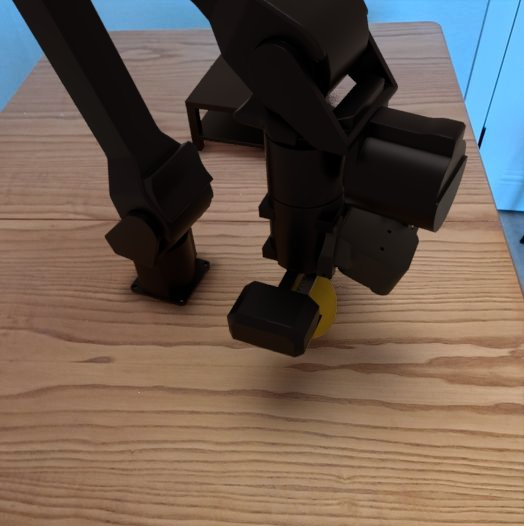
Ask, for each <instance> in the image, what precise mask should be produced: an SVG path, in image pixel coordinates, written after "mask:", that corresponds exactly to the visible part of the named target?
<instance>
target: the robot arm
mask: <svg viewBox="0 0 524 526" xmlns="http://www.w3.org/2000/svg"><path fill="white" fill-rule="evenodd" d="M11 1H12V3H13V5H14V6H15V7H16V9H17V11H18V13H19V15H20V17H22V20H24V23H25V24H26V26H27V28H28V29H29V31H30V32H31V35H32V36H33V37H34V39H35V41H36V43H37V44H38V46H39V48H40V50H41V51H42V53H43V54H44V55H45V58H46V59H47V61H48V62H49V64H50V66H51V67H52V69H53V71H54V72H55V74H56V76H57V77H58V79H59V80H60V82H61V84H62V86H63V87H64V89H65V91H66V92H67V94H68V95H69V97H70V98H71V100H72V102H73V103H74V105H75V107H76V108H77V110H78V112H79V113H80V115H81V117H82V118H83V120H84V122H85V124H86V126H87V127H88V128H89V130H90V132H91V134H92V135H93V137H94V138H95V140H96V142H97V143H98V145H99V147H100V148H101V150H102V152H103V153H104V155H105V158H106V161H107V178H108V179H107V180H108V181H107V182H108V195H109V198H110V201H111V202H112V204H113V207H114V209H115V210H116V212H117V214H118V216H119V219H120V220H119V221H118V222H117V223H116V224H114V226H113V227H112V228H111V229H110V230H108V231H107V233H105V235H104V239H105V240H106V242H107V243H108V245H109V247H110V248H111V250H112V251H113V253H114V254H115V255H118V256H120V257H122V258H124V259H127V260H129V261H132V262H133V266H134V268H135V271H136V275H137V277H136V278H135V279H134V281H133V282H132V283H131V284H130V286H129V287H130V291H131V292H132V293H134V294H138V295H141V296H144V297H148V298H151V299H154V300H158V301H160V302H163V303H164V302H165V303H168V304H171V305H175V306H178V307H184V306H186V305H187V304H188V302H189V300H190V299H191V297H192V296H193V295H194V293H195V291H196V290H197V289H198V287H199V285H200V284H201V282H202V281H203V279H204V278H205V276H206V275H207V273H208V271H209V270H210V268H211V262H210V261H209V260H207V259H203V258H199V257H197V256H198V252H197V246H196V242H195V238H194V232H193V229H192V226H193V225H194V224H195V223H196V222H197V221H198V220H199V219H200V218H202V216H203V215H204V213H206V212H207V210H208V209H209V208H210V207H211V205H212V202H213V200H212V199H213V198H214V190H213V188H212V184H211V183H212V182H213V181H214V177H213V176H212V174H210V172H209V171H208V170H207V168H206V166H205V165H204V163H203V161H202V159H201V156H200V153H199V151H198V150H197V147H196V146H195V145H194V144H193V143H192V141H191V140H188V141H184V142H183V143H180V142H179V141H178V140H176V139H175V138H173V137H171V136H170V135H168V134H166V133H165V132H164V131H162V130H161V129H160V128H159V126H158V125H157V123H156V121H155V119H154V118H153V115H152V113H151V111H150V109H149V108H148V106H147V104H146V102H145V100H144V98H143V96H142V94H141V92H140V90H139V89H138V87H137V85H136V82H135V81H134V79H133V77H132V75H131V73H130V71H129V69H128V68H127V66H126V63H125V62H124V60H123V58H122V57H121V56H122V55H120V52H119V51H118V49H117V47H116V45H115V43H114V41H113V39H112V37H111V36H110V33H109V32H108V30H107V28H106V26H105V23H104V22H103V20H102V18H101V17H100V15H99V12H98V11H97V9H96V7H95V5H94V3H93V1H92V0H11ZM189 1H190V2H191V3H192V4H193V5H194V6H195V7H196V8H197V9H198V11H200V13H201V14H202V15H203V16H204V18H205V19H206V20H207V21H208V22H209V23H208V24H209V26H210V28H211V30H212V33H213V36H214V39H215V41H216V45H217V47H218V50H219V52H220V54H221V55H222V57H223V59H224V60H225V62H226V63H227V64H228V65H229V66H230V67H231V69H232V70H233V71H234V72H235V73H236V74H237V76H238V77H239V78H240V79H241V80H242V81H243V83H244V84H245V85H246V86H247V87H248V88H249V90H250V91H251V92H252V95H251V96H250V98H249V99H248V100H247V101H245V102H244V103H243V104H242V105H241V106H240V107H239V108H238V109H237V110H236V111H235V112H234V114H233V118H234V120H235V121H236V122H238V123H242V124H245V125H249V126H253V127H256V128H260V129H262V130H263V131H264V145H265V149H264V159H265V175H266V187H267V188H266V189H267V192H266V193H265V195H264V196H263V198H262V200H261V201H260V203H259V205H258V206H257V208H258V218H261V219H265V220H269V233H270V234H269V235H268V236H267V238H266V240H265V242H264V243H263V245H262V247H261V255H262V258H264V259H268V260H271V261H275V262H277V264H278V265H279V267H281V268H282V269H284V270H285V272H284V274H283V276H282V277H281V279H280V282H279V283H278V285H277V286H276V285H273V284H269V283H266V282H262V281H258V280H252V281H251V282H249V283H247V284H245V285H243V287H242V289H241V291H240V293H239V295H238V296H237V298H236V300H235V302H234V303H233V304H232V307H231V308H230V310H229V312H228V313H227V314H226V321H227V327H228V332H229V334H230V336H231V338H232V340H235V341H237V342H241V343H244V344H247V345H251V346H255V347H258V348H261V349H264V350H268V351H271V352H274V353H277V354H281V355H284V356H286V357H287V356H288V357H291V358H298V357H300V356H303V355H305V354H306V351H307V349H308V347H309V345H310V343H311V338H312V337H313V335H314V333H315V331H316V329H317V326H318V324H319V322H320V320H321V318H322V316H323V315H321V314H320V306H319V305H318V304H317V303H316V302H315V301H314V300H313V299H312V298H311V297H310V296H309V295H310V293H311V291H312V289H313V286H314V284H315V282H316V280H317V278H318V276H319V277H323V278H327V279H329V281H330V282H331V280H333V278H334V276H335V274H336V272H337V270H338V271H339V273H340V274H342V275H343V276H345V277H347V278H349V279H350V280H352V281H355V282H356V283H358V284H360V285H362V286H364V287H366V288H367V289H369V290H370V292H372V293H374V294H375V295H377V296H381V297H386V296H388V295H389V294H390V293H391V292H392V291H393V290H394V289H395V287H396V286H397V285H398V283H399V282H400V281H401V280H402V279H403V278H404V276H405V275H406V274H407V272H408V271H409V269H410V267H411V265H412V262H413V259H414V258H415V257H414V256H415V254H416V251H417V249H418V246H419V242H420V238H419V236H418V231H419V229H421V230H425V231H429V232H432V233H435V234H436V233H437V232H438V231H439V230H440V229H441V228H442V226H443V224H444V222H445V221H446V218H447V217H448V215H449V212H450V210H451V208H452V206H453V203H454V201H455V198H456V196H457V193H458V190H459V188H460V185H461V182H462V179H463V176H464V173H465V169H466V166H467V163H468V158H469V156H468V155H466V152H467V151H466V150H467V141H466V139H464V137H465V133H466V128H467V125H466V124H465V122H464V121H461V120H456V119H453V118H449V117H431V116H425V115H421V114H417V113H414V112H410V111H409V112H408V111H404V110H401V109H396V108H393V107H389V103H390V100H391V99H392V98H393V97H394V95H395V94H396V93H397V91H398V89H399V85H398V82H397V81H396V78H395V76H394V74H393V73H392V70H391V69H390V67H389V65H388V63H387V62H386V61H387V60H386V59H385V57H384V56H383V54H382V51H381V50H380V48H379V46H378V44H377V42H376V40H375V38H374V36H373V34H372V33H371V30H370V27H369V18H368V15H369V8H368V6H367V4H366V2H365V0H189ZM347 76H348V77H349V78H350V79H351V80H352V81H353V82H354V83H355V84H354V85H353V86H352V88H351V89H350V90H349V91H348V92H347V93H346V94H345V95H344V96H343V98H342V99H341V100H340V101H339V102H338V104H337V105H336V106H334V105H332V102H331V100H330V99H329V100H328V99H327V97H328V96H329V95H330V96H331V94H332V92H333V91H335V89H337V87H338V86H339V85H340V84H341V83H342V81H344V79H345V78H346V77H347ZM330 96H329V97H330ZM301 282H302V283H301ZM299 286H300V287H299Z"/></svg>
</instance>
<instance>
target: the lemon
mask: <svg viewBox="0 0 524 526" xmlns="http://www.w3.org/2000/svg"><path fill="white" fill-rule="evenodd" d="M301 283H302V282H301ZM299 287H300V286H299ZM309 296H310V297H311V298H312V299H313V300H314V301H315V302H316V303H317V304H318V305H319V306H320V314H321V315H323V316H322V318H321V320H320V322H319V324H318V326H317V329H316V331H315V333H314V335H313V337H312V338H311V340H315V339H318V338H320V337H322V336H323V335H325V334H326V333H328V331H329V330H330V329H331V328H332V326H333V324H334V322H335V320H336V316H337V311H338V299H337V294H336V290H335V288H334V286H333V283H332V282H331V280H330V281H329V279H327V278H323V277H319V276H318V278H317V280H316V282H315V284H314V286H313V289H312V291H311V293H310V295H309Z"/></svg>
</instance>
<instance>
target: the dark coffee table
mask: <svg viewBox="0 0 524 526" xmlns="http://www.w3.org/2000/svg"><path fill="white" fill-rule="evenodd" d="M251 95H252V92H251V91H250V90H249V88H248V87H247V86H246V85H245V84H244V83H243V81H242V80H241V79H240V78H239V77H238V76H237V74H236V73H235V72H234V71H233V70H232V69H231V67H230V66H229V65H228V64H227V63H226V62H225V60H224V59H223V57H222V55H221V53H220V54H219V55H218V57H217V58H216V60H215V61H214V62H213V63H212V64H211V66H210V67H209V68H208V70H207V72H205V74H204V75H203V76H202V78H201V79H200V80H199V82H198V83H197V85H195V87H194V88H193V90H192V91H191V92H190V94H189V95H188V96H187V98H186V99H185V100H184V103H185V104H184V105H185V110H186V116H187V120H188V121H187V122H188V127H189V131H190V138H191V142H192V143H193V144H194V145H195V146H196V147H197V150H198V152H203V150H204V149H205V147H206V143H205V141H206V142H211V143H218V144H225V145H232V146H238V147H245V148H251V149H253V148H254V149H257V150H258V149H259V150H265V145H264V131H263V130H262V129H260V128H256V127H253V126H249V125H245V124H242V123H238V122H236V121H235V120H234V118H233V114H234V112H235V111H236V110H237V109H238V108H239V107H240V106H241V105H242V104H243V103H244V102H245V101H247V100H248V99H249V98H250V96H251ZM330 97H331V94H330V95H329V96H328V97H327V99H328V100H329V101H330ZM200 110H203V111H206V112H205V114H204V115H203V116H202V118H201V111H200Z"/></svg>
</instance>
